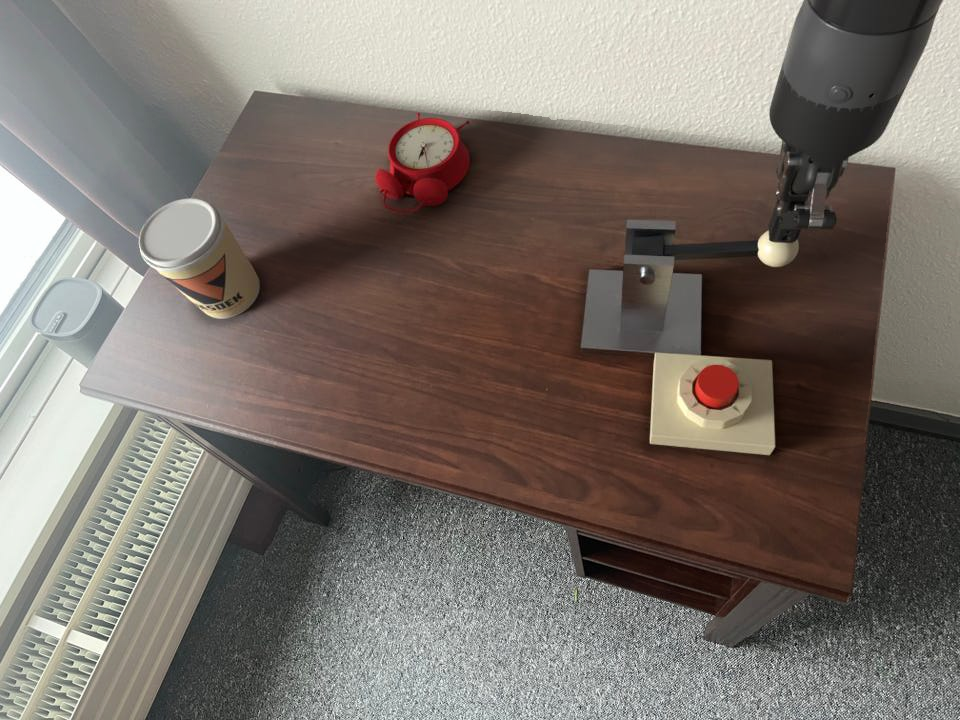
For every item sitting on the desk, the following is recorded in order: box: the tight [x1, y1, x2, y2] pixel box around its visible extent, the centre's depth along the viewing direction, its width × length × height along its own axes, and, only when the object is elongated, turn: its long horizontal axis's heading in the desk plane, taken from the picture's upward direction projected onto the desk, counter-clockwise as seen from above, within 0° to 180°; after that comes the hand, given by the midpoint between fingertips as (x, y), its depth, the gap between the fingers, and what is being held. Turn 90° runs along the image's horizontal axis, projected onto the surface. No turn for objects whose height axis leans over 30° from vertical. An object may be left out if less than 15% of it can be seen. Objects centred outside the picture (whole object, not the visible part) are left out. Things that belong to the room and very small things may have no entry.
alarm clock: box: [374, 112, 471, 214], centre depth 85 cm, size 10×6×15 cm
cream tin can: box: [138, 197, 261, 320], centre depth 77 cm, size 9×9×12 cm
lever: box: [632, 229, 800, 268], centre depth 61 cm, size 14×3×3 cm, turn 81°
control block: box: [649, 352, 776, 456], centre depth 65 cm, size 11×9×4 cm
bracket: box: [580, 219, 703, 359], centre depth 67 cm, size 12×10×13 cm
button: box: [695, 365, 739, 408], centre depth 63 cm, size 4×4×2 cm
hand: (781, 235), depth 58 cm, fingers closed
